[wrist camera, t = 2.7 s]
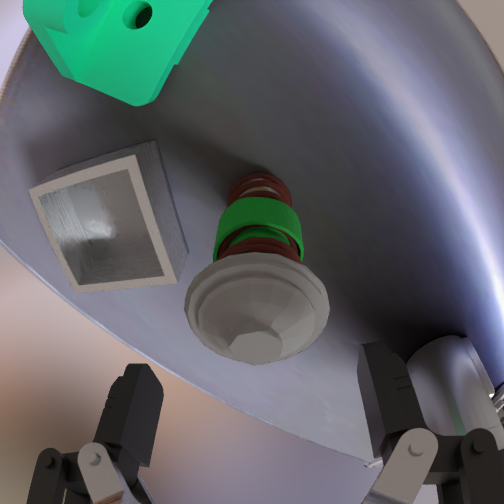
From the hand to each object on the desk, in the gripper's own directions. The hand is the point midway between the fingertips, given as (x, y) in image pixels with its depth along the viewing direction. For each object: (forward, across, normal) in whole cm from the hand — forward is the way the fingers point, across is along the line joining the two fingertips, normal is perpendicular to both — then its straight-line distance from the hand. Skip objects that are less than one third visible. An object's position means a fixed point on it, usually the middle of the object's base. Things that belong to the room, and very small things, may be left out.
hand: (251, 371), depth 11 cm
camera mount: (+17, +5, -16) cm, 23 cm away
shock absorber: (+16, 0, 0) cm, 16 cm away
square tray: (+16, +12, -1) cm, 20 cm away
